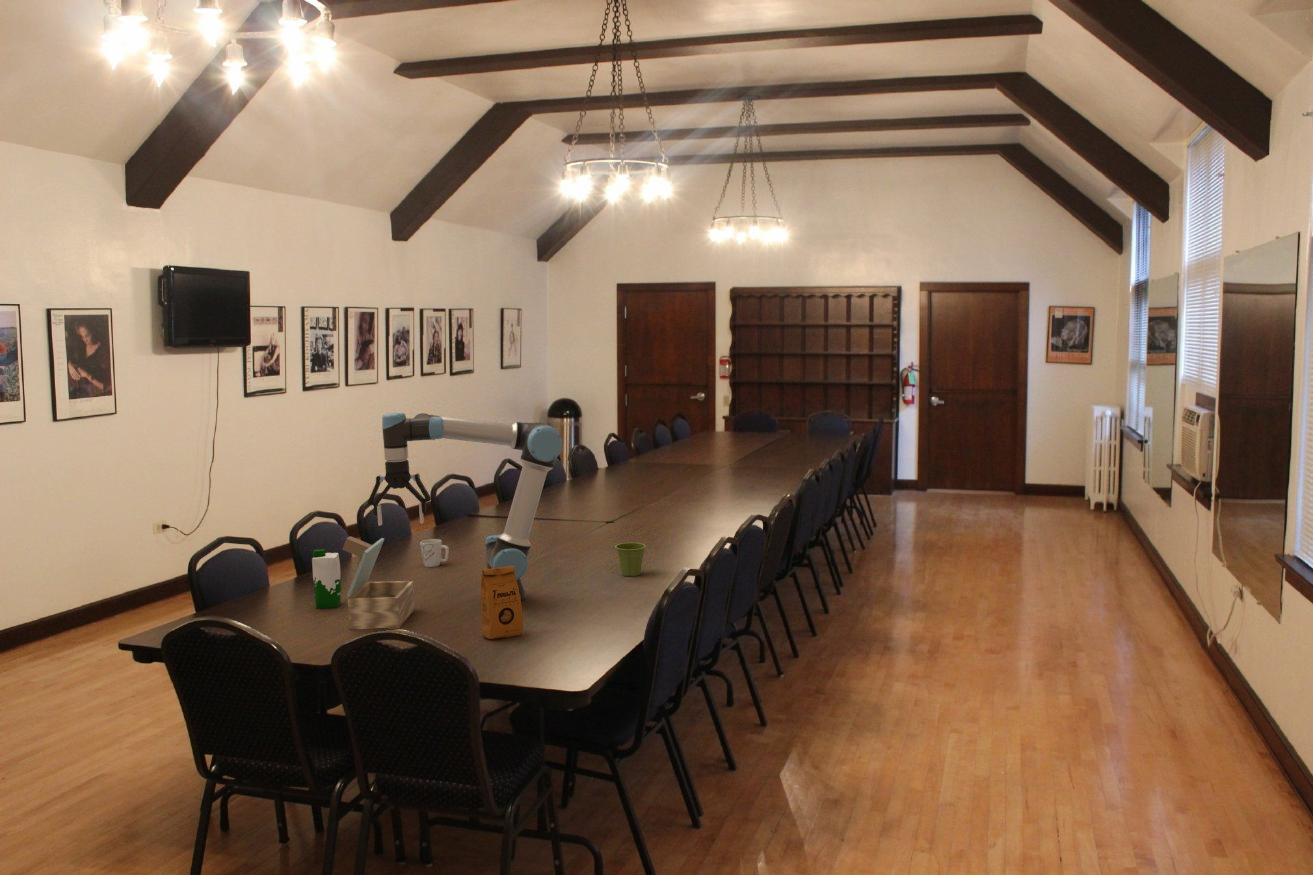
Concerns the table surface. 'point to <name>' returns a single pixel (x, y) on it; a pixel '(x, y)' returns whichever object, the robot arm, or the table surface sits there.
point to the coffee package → (500, 603)
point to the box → (381, 605)
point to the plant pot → (630, 558)
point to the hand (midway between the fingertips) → (401, 523)
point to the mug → (433, 552)
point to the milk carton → (326, 579)
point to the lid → (362, 560)
